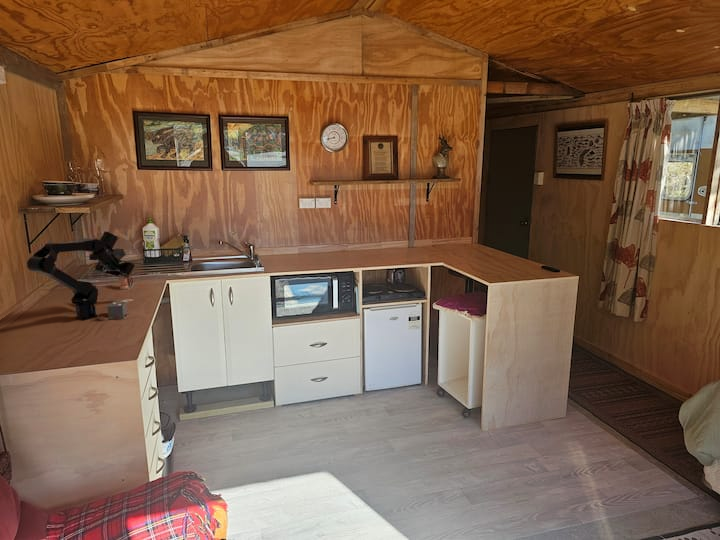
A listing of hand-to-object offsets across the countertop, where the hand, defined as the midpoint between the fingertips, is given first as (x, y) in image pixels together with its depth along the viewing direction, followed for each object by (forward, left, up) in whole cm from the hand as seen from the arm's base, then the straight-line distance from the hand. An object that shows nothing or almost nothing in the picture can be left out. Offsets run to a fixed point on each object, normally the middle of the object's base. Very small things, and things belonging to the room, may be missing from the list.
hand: (125, 277), depth 239 cm
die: (-15, -17, -13) cm, 26 cm away
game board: (-4, -1, -13) cm, 13 cm away
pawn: (-1, 0, -5) cm, 5 cm away
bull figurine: (+17, +29, -13) cm, 36 cm away
